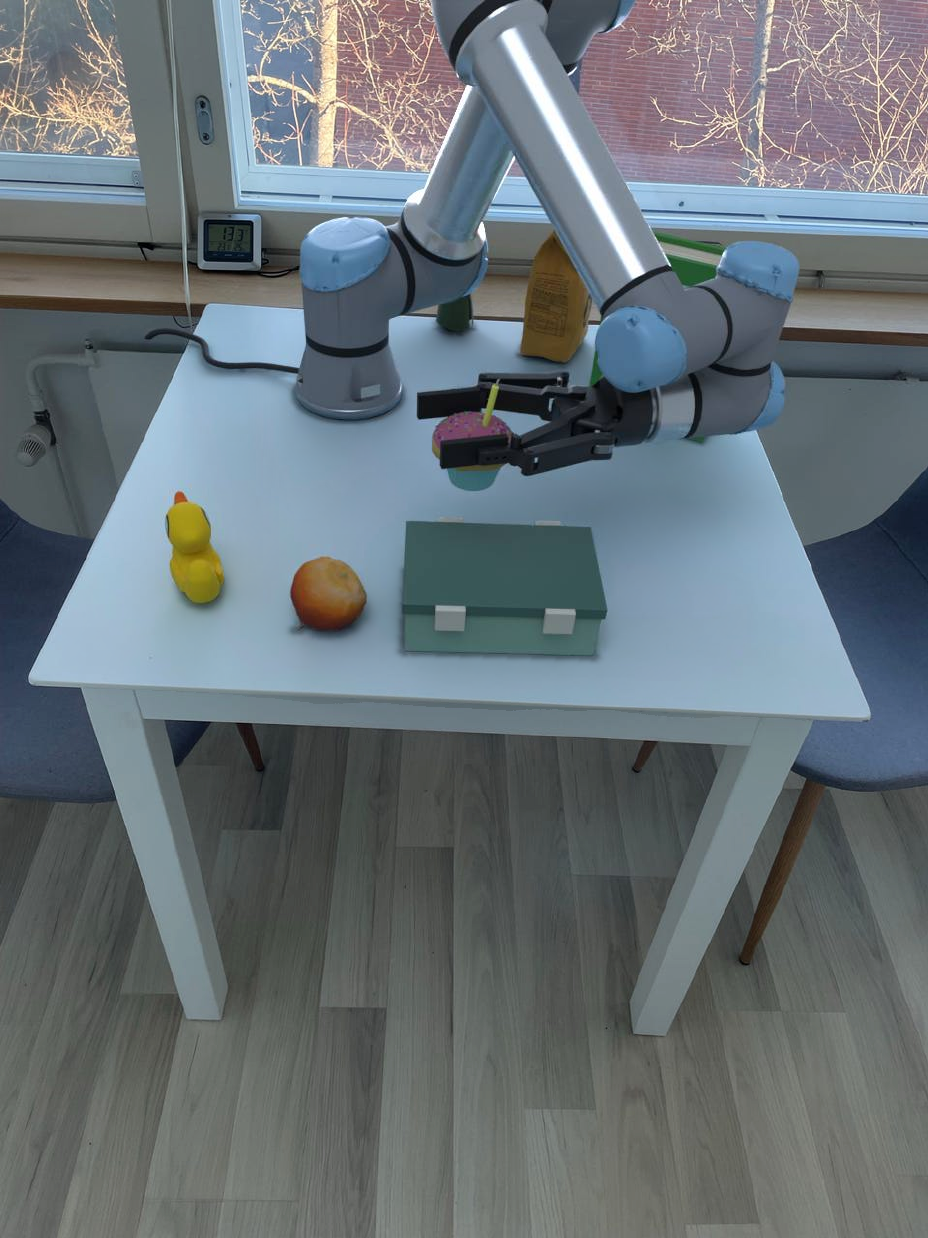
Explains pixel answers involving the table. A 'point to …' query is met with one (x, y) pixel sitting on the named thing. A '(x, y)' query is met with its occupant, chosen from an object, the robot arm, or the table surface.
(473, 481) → the cupcake
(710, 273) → the hardback book
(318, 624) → the fruit
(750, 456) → the table surface
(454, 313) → the character mug
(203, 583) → the duckling
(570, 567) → the lunchbox
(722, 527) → the table surface
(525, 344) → the coffee package
